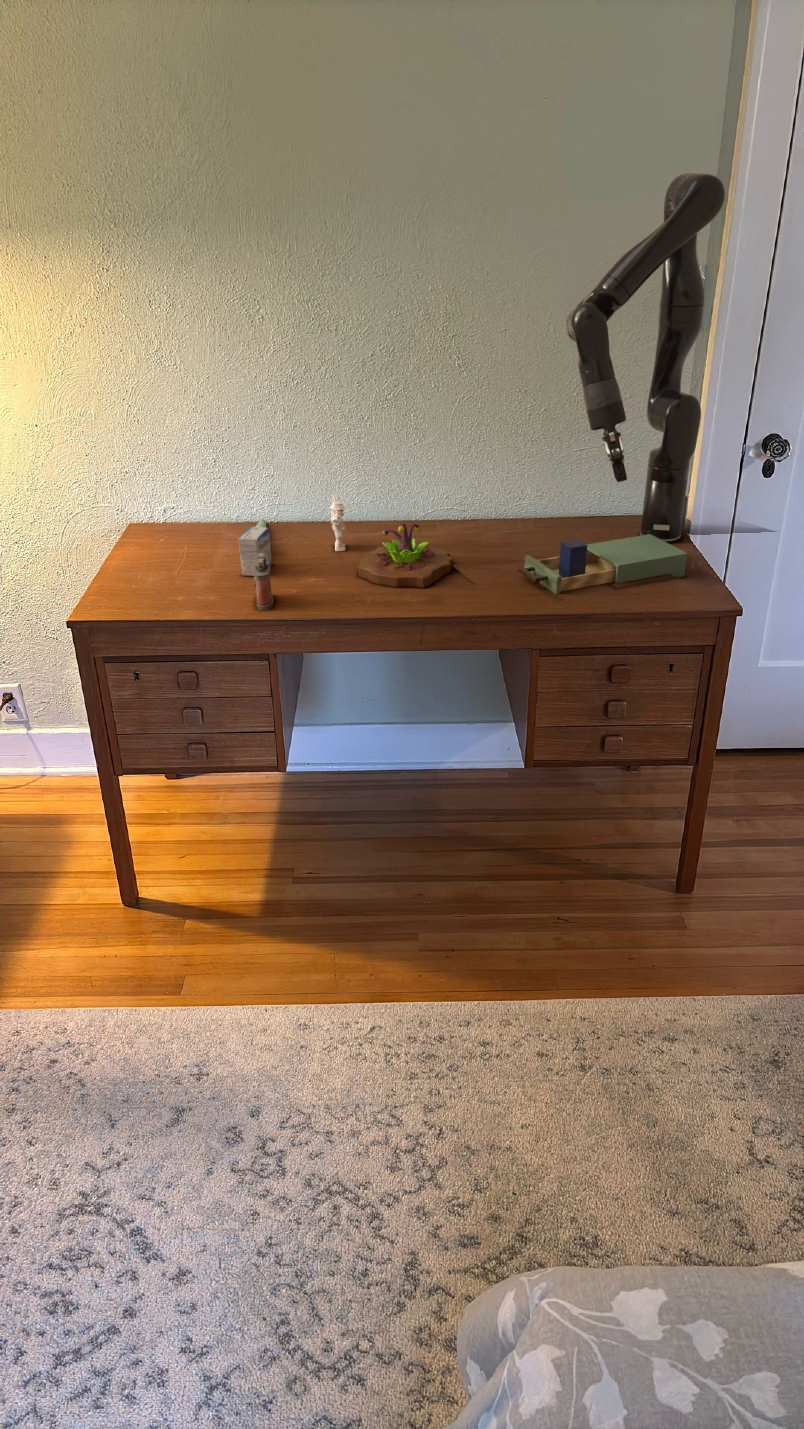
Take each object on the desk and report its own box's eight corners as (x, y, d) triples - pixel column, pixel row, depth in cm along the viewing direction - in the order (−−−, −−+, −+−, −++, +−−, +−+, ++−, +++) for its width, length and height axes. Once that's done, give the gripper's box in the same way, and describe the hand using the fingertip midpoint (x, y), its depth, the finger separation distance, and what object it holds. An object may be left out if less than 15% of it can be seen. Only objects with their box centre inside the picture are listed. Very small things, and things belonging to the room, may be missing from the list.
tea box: (568, 581, 204) (570, 547, 201) (558, 575, 208) (560, 541, 204) (584, 578, 206) (587, 545, 202) (574, 572, 209) (577, 539, 205)
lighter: (257, 595, 204) (253, 549, 199) (273, 594, 204) (269, 548, 199) (255, 610, 197) (251, 563, 192) (272, 609, 197) (268, 562, 192)
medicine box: (261, 577, 213) (257, 539, 208) (241, 576, 213) (237, 538, 209) (272, 564, 219) (269, 527, 215) (253, 563, 220) (250, 526, 216)
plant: (345, 581, 210) (342, 530, 204) (378, 551, 226) (377, 503, 220) (433, 592, 204) (433, 540, 198) (461, 560, 220) (462, 512, 214)
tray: (541, 599, 198) (543, 579, 196) (510, 577, 209) (511, 557, 207) (628, 583, 205) (630, 564, 202) (593, 562, 216) (595, 543, 213)
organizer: (615, 588, 204) (618, 565, 201) (581, 567, 215) (583, 544, 212) (684, 576, 209) (687, 553, 207) (647, 556, 220) (650, 533, 218)
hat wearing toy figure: (332, 542, 232) (329, 492, 226) (348, 541, 232) (346, 491, 226) (330, 555, 224) (327, 504, 218) (347, 554, 224) (345, 503, 218)
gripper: (623, 398, 198) (641, 477, 202) (619, 398, 211) (636, 472, 215) (586, 409, 200) (604, 487, 204) (585, 408, 213) (602, 481, 217)
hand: (621, 479), depth 210 cm, fingers open, 8 cm apart
